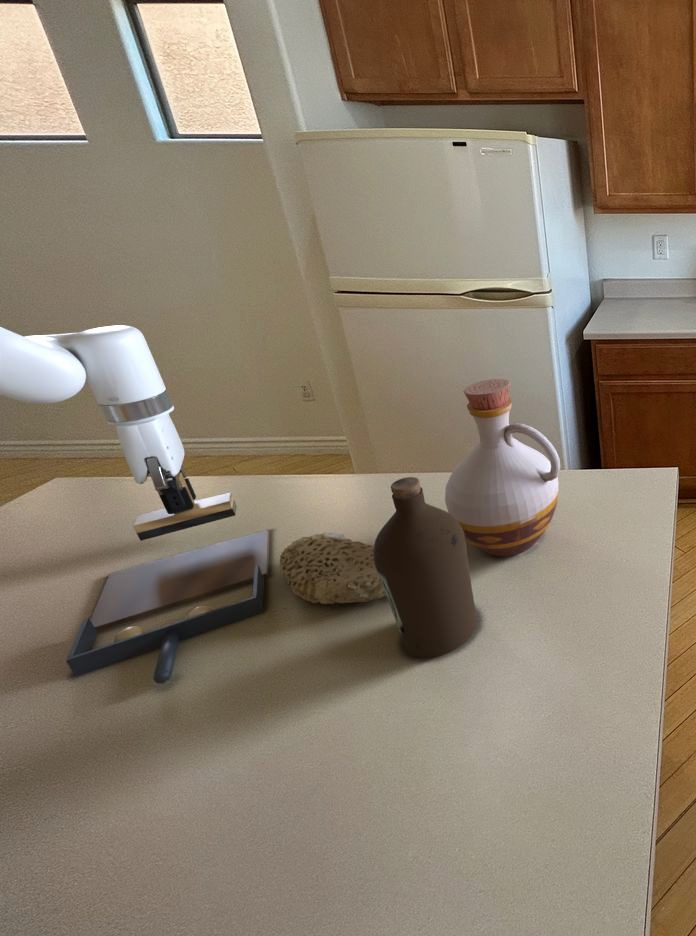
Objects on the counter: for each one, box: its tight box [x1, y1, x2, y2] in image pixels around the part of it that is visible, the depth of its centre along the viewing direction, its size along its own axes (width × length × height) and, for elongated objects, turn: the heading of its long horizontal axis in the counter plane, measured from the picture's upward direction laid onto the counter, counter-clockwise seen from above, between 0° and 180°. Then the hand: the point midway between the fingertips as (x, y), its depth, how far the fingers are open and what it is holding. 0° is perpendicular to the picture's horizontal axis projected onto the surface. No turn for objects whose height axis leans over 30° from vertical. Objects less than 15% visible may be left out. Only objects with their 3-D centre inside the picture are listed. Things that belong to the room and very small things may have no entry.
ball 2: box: [185, 605, 214, 619], centre depth 78 cm, size 3×3×3 cm
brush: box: [132, 472, 237, 541], centre depth 92 cm, size 12×4×9 cm, turn 126°
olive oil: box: [374, 476, 478, 659], centre depth 73 cm, size 11×11×25 cm
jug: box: [444, 378, 561, 557], centre depth 91 cm, size 20×18×30 cm
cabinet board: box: [90, 528, 271, 632], centre depth 87 cm, size 20×14×1 cm
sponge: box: [279, 532, 387, 605], centre depth 86 cm, size 13×8×20 cm
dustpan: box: [65, 565, 265, 684], centre depth 75 cm, size 17×19×3 cm
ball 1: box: [113, 625, 147, 643], centre depth 75 cm, size 3×3×3 cm
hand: (182, 505), depth 92 cm, fingers closed on brush, 2 cm apart
